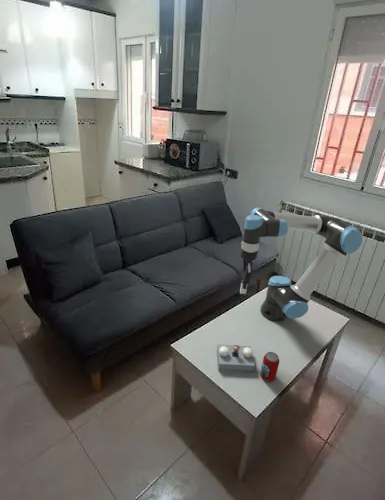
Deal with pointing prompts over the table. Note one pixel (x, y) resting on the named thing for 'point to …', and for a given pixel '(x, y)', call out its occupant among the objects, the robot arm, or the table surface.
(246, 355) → the knob
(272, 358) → the beverage can
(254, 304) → the table surface
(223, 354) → the knob
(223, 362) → the mount
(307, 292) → the robot arm
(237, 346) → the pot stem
